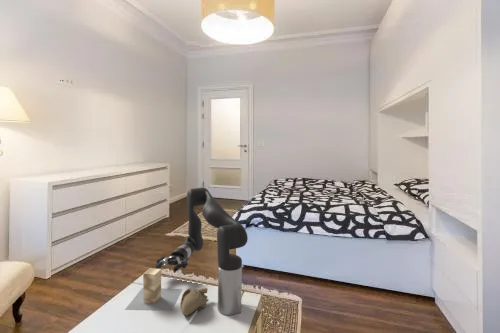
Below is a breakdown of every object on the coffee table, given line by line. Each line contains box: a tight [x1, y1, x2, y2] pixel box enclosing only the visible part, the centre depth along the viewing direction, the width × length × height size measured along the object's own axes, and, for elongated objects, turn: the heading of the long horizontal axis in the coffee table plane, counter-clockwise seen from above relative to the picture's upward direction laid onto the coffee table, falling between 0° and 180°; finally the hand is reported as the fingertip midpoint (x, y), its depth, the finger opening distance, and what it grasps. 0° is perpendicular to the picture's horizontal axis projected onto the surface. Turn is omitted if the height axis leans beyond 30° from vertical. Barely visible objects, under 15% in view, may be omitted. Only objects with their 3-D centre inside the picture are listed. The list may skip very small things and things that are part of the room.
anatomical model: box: [179, 287, 209, 317], centre depth 103 cm, size 7×11×15 cm
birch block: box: [142, 267, 162, 304], centre depth 108 cm, size 5×5×12 cm
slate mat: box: [124, 287, 183, 312], centre depth 109 cm, size 18×16×1 cm
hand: (165, 268), depth 119 cm, fingers open, 8 cm apart
